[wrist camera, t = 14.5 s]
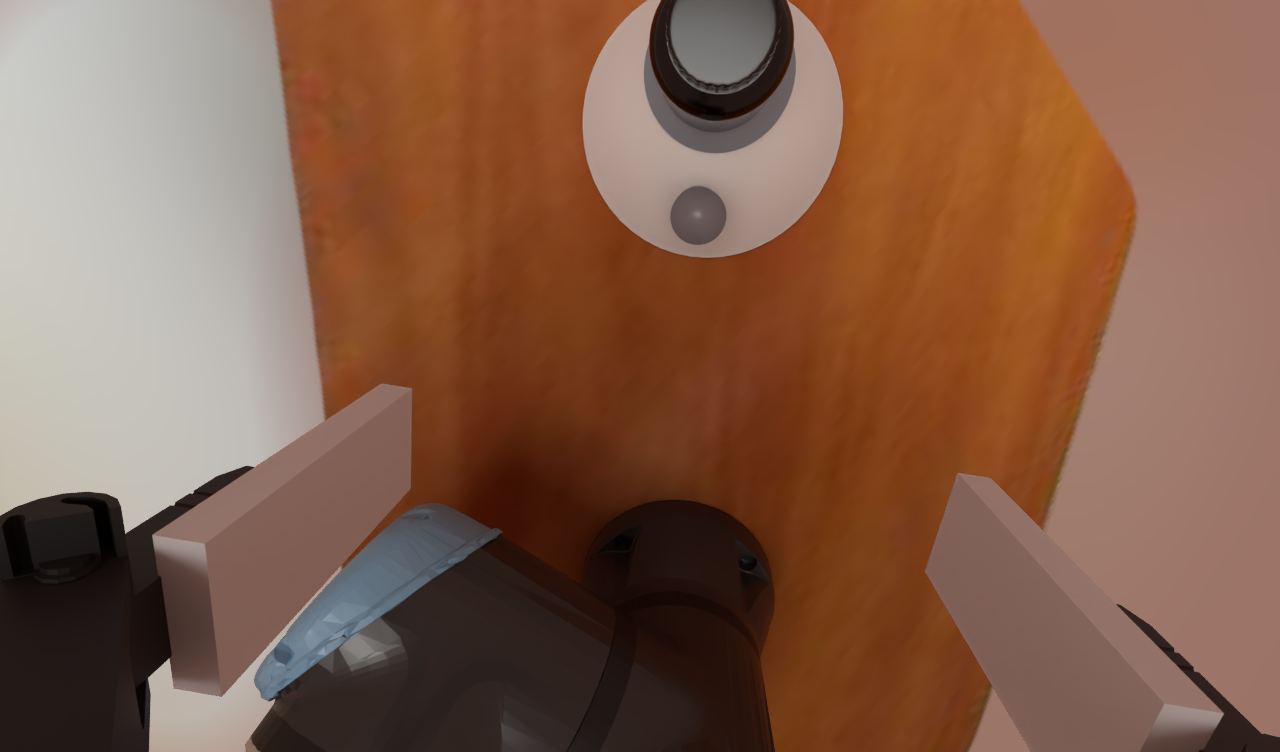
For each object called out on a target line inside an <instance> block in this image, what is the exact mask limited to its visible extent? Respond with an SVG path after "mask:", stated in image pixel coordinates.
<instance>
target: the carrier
mask: <svg viewBox="0 0 1280 752" xmlns="http://www.w3.org/2000/svg"><path fill="white" fill-rule="evenodd" d="M660 1H661V0H647V1H646V2H644V3H643V4H642V5H641V6H639V7H638V8H637V9H635V10H634V11H633V12H632V13H631V14H630V15H629V16H628V17H627V18H626V19H625V20H624V21H623V22H622V23H621V24H620V25H619V26H618V27H617V29H616V30H615V31H614V33H613V34H612V35H611V37H610V38H609V39H608V41H607V42H606V44H605V46H604V47H603V49H602V51H601V53H600V54H599V56H598V58H597V61H596V63H595V66H594V68H593V70H592V73H591V76H590V79H589V83H588V86H587V90H586V94H585V101H584V107H583V140H584V148H585V153H586V157H587V162H588V165H589V168H590V171H591V174H592V177H593V180H594V182H595V184H596V186H597V188H598V190H599V192H600V194H601V196H602V197H603V199H604V200H605V202H606V203H607V205H608V206H609V208H610V209H611V210H612V212H613V213H614V214H615V215H616V216H617V217H618V219H619V220H620V221H621V222H622V223H623V224H625V225H626V226H627V227H628V228H629V229H630V230H631V231H632V232H634V233H635V234H637V235H638V236H639V237H641V238H642V239H644V240H645V241H647V242H649V243H651V244H653V245H655V246H657V247H659V248H661V249H664V250H667V251H669V252H672V253H675V254H680V255H685V256H690V257H701V258H712V257H724V256H730V255H735V254H739V253H742V252H746V251H749V250H752V249H754V248H756V247H759V246H761V245H763V244H765V243H767V242H769V241H771V240H772V239H774V238H775V237H777V236H778V235H780V234H782V233H783V232H784V231H785V230H787V229H788V228H789V227H790V226H792V225H793V224H794V223H795V222H796V221H797V220H798V219H799V218H800V217H801V216H802V215H803V214H804V213H805V212H806V211H807V210H808V209H809V207H810V206H811V204H812V203H813V202H814V200H815V199H816V198H817V196H818V195H819V193H820V192H821V190H822V188H823V186H824V185H825V183H826V181H827V179H828V177H829V175H830V172H831V170H832V167H833V165H834V163H835V159H836V156H837V152H838V149H839V145H840V139H841V133H842V126H843V101H842V90H841V85H840V81H839V76H838V72H837V69H836V66H835V63H834V61H833V58H832V55H831V53H830V51H829V49H828V47H827V45H826V43H825V41H824V40H823V38H822V36H821V35H820V33H819V32H818V31H817V29H816V28H815V26H814V25H813V24H812V22H811V21H810V20H809V19H808V18H807V17H806V16H805V15H804V14H803V13H802V12H801V11H800V10H799V9H798V8H797V7H795V6H794V5H793V4H791V3H790V2H789V1H787V3H788V5H789V8H790V11H791V14H792V19H793V26H794V47H793V53H792V57H791V61H790V64H789V67H788V70H787V72H786V75H785V77H784V79H783V81H782V82H781V84H780V86H779V87H778V89H777V90H776V92H775V93H774V94H773V95H772V97H771V98H770V99H769V100H768V102H767V103H766V104H765V105H764V106H763V108H762V109H761V110H760V111H759V112H758V113H757V114H756V115H755V116H754V117H753V118H752V119H750V120H749V121H748V122H746V123H745V124H743V125H741V126H739V127H737V128H735V129H732V130H729V131H724V132H705V131H701V130H698V129H695V128H693V127H691V126H689V125H687V124H686V123H684V122H683V121H682V120H680V119H679V118H678V117H677V116H676V115H675V113H674V112H673V111H672V110H671V108H670V107H669V105H668V104H667V102H666V100H665V98H664V96H663V94H662V92H661V90H660V88H659V86H658V84H657V82H656V79H655V77H654V74H653V71H652V67H651V62H650V55H649V36H650V29H651V24H652V21H653V17H654V14H655V12H656V9H657V7H658V5H659V3H660Z"/></svg>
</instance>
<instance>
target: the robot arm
mask: <svg viewBox="0 0 1280 752" xmlns="http://www.w3.org/2000/svg"><path fill="white" fill-rule="evenodd" d="M411 431H412V388H407V387H400V386H394V385H387V384H380V385H378V386H377V387H375V388H374V389H372V390H371V391H369V392H368V393H366V394H365V395H363V396H362V397H360V398H359V399H357V400H356V401H354V402H353V403H351V404H350V405H348V406H347V407H345V408H344V409H342V410H341V411H339V412H338V413H336V414H335V415H333V416H332V417H330V418H329V419H327V420H325V421H324V422H322V423H321V424H319V425H318V426H316V427H315V428H314V429H312V430H310V431H309V432H307V433H306V434H304V435H303V436H301V437H300V438H298V439H297V440H296V441H294V442H292V443H291V444H289V445H288V446H286V447H285V448H283V449H282V450H280V451H279V452H277V453H276V454H274V455H273V456H271V457H269V458H268V459H267V460H265V461H263V462H262V463H260V464H259V465H257V466H256V467H250V466H245V467H242V468H239V469H236V470H233V471H231V472H228V473H225V474H222V475H219V476H217V477H215V478H214V479H212V480H210V481H209V482H207V483H206V484H204V485H202V486H201V487H199V488H198V489H196V490H195V491H194V493H193V494H188V495H186V496H185V497H184V498H182V499H180V500H178V501H177V502H176V503H175V505H174V506H169V507H167V508H166V509H164V510H162V511H161V512H159V513H158V514H156V515H155V516H153V517H151V518H150V519H148V520H146V521H145V522H143V523H142V524H140V525H139V526H137V527H135V528H134V529H132V530H131V531H129V532H127V533H126V534H125V530H124V524H123V517H122V511H121V506H120V504H119V501H118V499H116V498H114V497H112V496H110V495H107V494H103V493H93V492H79V493H66V494H60V495H55V496H51V497H46V498H41V499H37V500H35V501H32V502H29V503H26V504H23V505H20V506H18V507H15V508H13V509H12V510H10V511H8V512H6V513H5V514H3V515H1V516H0V752H149V727H150V689H149V683H148V677H149V676H150V675H151V674H152V673H154V672H155V671H156V670H157V669H158V668H159V667H160V666H161V665H162V664H163V663H164V662H166V661H167V660H168V659H169V658H170V664H171V671H172V678H173V686H174V688H175V689H181V690H187V691H192V692H198V693H203V694H209V695H215V696H221V697H222V696H223V695H224V694H225V693H226V691H227V690H228V689H229V688H230V687H231V686H232V685H233V684H234V683H235V682H236V680H237V679H238V678H239V677H240V676H241V675H242V674H243V673H244V672H245V671H246V669H247V668H248V667H249V666H250V665H251V664H252V663H253V662H254V661H255V660H256V658H257V657H258V656H259V655H260V654H261V653H262V652H263V651H264V650H265V649H266V647H267V646H268V645H269V644H270V642H272V641H273V640H274V638H275V637H276V636H277V635H278V634H279V633H280V632H281V631H282V630H283V629H284V628H285V626H286V625H287V624H288V623H289V622H290V621H291V620H292V619H293V618H294V617H295V615H296V614H297V613H298V612H299V611H300V610H301V609H302V608H303V606H305V604H306V603H307V602H308V601H309V600H310V599H311V598H312V597H313V596H314V595H315V593H316V592H317V591H318V590H319V589H320V588H321V587H322V586H323V585H324V584H325V582H326V581H327V580H328V579H329V578H330V577H331V576H332V575H333V574H334V573H335V571H336V570H337V569H338V568H339V567H340V566H341V565H342V564H343V563H344V562H345V560H346V559H347V558H348V557H349V556H350V555H351V554H352V553H353V552H354V550H355V549H356V548H357V547H358V546H359V545H360V544H361V543H362V542H363V541H364V539H365V538H366V537H367V536H368V535H369V534H370V533H371V532H372V531H373V530H374V528H375V527H376V526H377V525H378V524H379V523H380V522H381V521H382V520H383V519H384V517H385V516H386V515H387V514H388V513H389V512H390V511H391V510H392V509H393V508H394V506H395V505H396V504H397V503H398V502H399V501H400V500H401V499H402V498H403V497H404V495H405V494H406V493H407V492H408V491H409V490H410V489H411ZM502 534H503V532H502V531H501V530H500V529H498V528H494V529H490V528H489V527H487V526H485V525H483V524H481V523H479V522H477V521H476V520H474V519H472V518H470V517H468V516H466V515H464V514H463V513H461V512H459V511H457V510H455V509H453V508H452V507H450V506H447V505H445V504H440V503H427V504H422V505H419V506H416V507H414V508H412V509H410V510H408V511H407V512H405V513H404V514H402V515H401V516H399V517H398V518H397V519H396V520H394V521H393V522H392V523H391V524H390V525H388V526H387V527H386V528H385V529H384V530H383V531H382V532H381V533H379V534H378V535H377V536H376V537H375V538H374V539H373V540H372V541H371V542H370V543H369V544H368V545H367V546H366V547H365V548H364V549H363V550H362V551H360V552H359V553H358V554H357V555H356V556H355V557H354V558H353V559H352V560H351V561H350V562H349V563H348V564H347V565H346V566H345V567H344V568H343V569H342V570H341V571H340V573H339V574H338V575H337V576H336V577H335V578H334V579H333V580H332V581H331V582H330V583H329V584H328V585H327V586H326V587H325V589H323V591H322V592H321V593H320V594H319V595H318V596H317V597H316V598H315V599H314V600H313V602H312V603H311V604H310V605H309V606H308V607H307V608H306V609H305V610H304V611H303V613H302V614H301V615H300V616H299V617H298V619H297V620H296V621H295V622H294V623H293V624H292V626H291V627H290V628H289V630H288V631H287V633H286V635H285V636H284V637H283V638H282V639H281V641H280V642H279V643H278V645H277V646H276V647H275V648H274V649H273V650H272V651H271V652H270V653H269V654H268V655H267V657H266V658H265V659H264V661H263V662H262V664H261V665H260V667H259V669H258V671H257V673H256V675H255V679H254V682H255V686H256V687H257V688H258V689H259V691H260V693H261V697H262V698H263V699H265V700H267V701H271V700H273V699H275V703H274V705H273V706H272V708H271V709H270V710H269V712H268V713H267V715H266V716H265V718H264V719H263V721H261V723H260V724H259V726H258V727H257V728H256V730H255V731H254V733H253V734H252V735H251V737H250V738H249V740H248V741H247V743H246V745H245V746H246V752H775V749H774V743H773V737H772V731H771V725H770V718H769V712H768V706H767V700H766V694H765V688H764V682H763V675H762V670H761V662H760V657H761V654H762V650H763V647H764V644H765V641H766V637H767V634H768V631H769V628H770V624H771V621H772V617H773V612H774V587H773V582H772V576H771V571H770V567H769V563H768V560H767V558H766V555H765V553H764V551H763V549H762V547H761V546H760V544H759V543H758V541H757V540H756V539H755V537H754V536H753V535H752V534H751V533H750V532H749V531H748V530H747V529H746V528H745V527H744V526H743V525H742V524H741V523H739V522H738V521H737V520H735V519H734V518H732V517H731V516H729V515H727V514H725V513H723V512H721V511H719V510H717V509H715V508H712V507H709V506H706V505H702V504H699V503H693V502H687V501H661V502H654V503H649V504H645V505H642V506H639V507H636V508H634V509H631V510H629V511H627V512H625V513H623V514H622V515H620V516H618V517H617V518H615V519H614V520H613V521H611V522H610V523H609V524H608V525H607V526H606V527H605V528H604V529H603V530H602V531H601V532H600V533H599V535H598V536H597V537H596V539H595V540H594V542H593V544H592V545H591V547H590V550H589V552H588V555H587V558H586V561H585V565H584V568H583V572H582V576H581V582H580V584H579V583H577V582H576V581H574V580H573V579H571V578H569V577H568V576H566V575H565V574H563V573H561V572H560V571H558V570H557V569H555V568H553V567H552V566H550V565H549V564H547V563H545V562H544V561H542V560H540V559H539V558H537V557H536V556H534V555H532V554H531V553H529V552H528V551H526V550H524V549H523V548H521V547H520V546H518V545H516V544H515V543H513V542H511V541H510V540H508V539H507V538H505V537H503V536H502ZM925 572H926V574H927V576H928V578H929V579H930V581H931V583H932V584H933V586H934V588H935V589H936V591H937V593H938V595H939V596H940V598H941V600H942V601H943V603H944V605H945V606H946V608H947V610H948V612H949V613H950V615H951V617H952V618H953V620H954V622H955V623H956V625H957V627H958V629H959V630H960V632H961V634H962V635H963V637H964V639H965V640H966V642H967V644H968V646H969V647H970V649H971V651H972V652H973V654H974V656H975V657H976V659H977V661H978V662H979V664H980V666H981V668H982V669H983V671H984V673H985V674H986V676H987V678H988V679H989V681H990V683H991V685H992V686H993V688H994V690H995V691H996V693H997V694H998V696H999V698H1000V700H1001V702H1002V703H1003V705H1004V707H1005V708H1006V710H1007V712H1008V713H1009V715H1010V717H1011V718H1012V720H1013V722H1014V724H1015V725H1016V727H1017V729H1018V730H1019V732H1020V734H1021V735H1022V737H1023V739H1024V741H1025V742H1026V744H1027V746H1028V747H1029V749H1030V751H1031V752H1280V737H1275V736H1271V735H1267V734H1261V733H1260V732H1259V731H1258V730H1257V729H1256V728H1255V727H1254V726H1253V725H1252V724H1251V723H1250V722H1249V721H1248V720H1247V719H1246V718H1245V717H1244V716H1243V715H1242V714H1241V713H1240V712H1239V711H1238V710H1237V709H1235V708H1234V706H1232V705H1231V704H1230V703H1229V702H1228V701H1227V700H1226V699H1225V698H1224V697H1223V696H1222V695H1221V694H1220V693H1219V692H1218V691H1217V690H1216V689H1215V688H1214V687H1213V686H1212V685H1211V684H1210V683H1209V682H1208V681H1207V680H1206V679H1205V678H1204V677H1203V676H1202V675H1201V674H1200V673H1198V672H1194V670H1193V668H1194V667H1193V666H1191V665H1190V663H1188V661H1186V660H1185V659H1184V658H1183V657H1182V656H1181V655H1180V654H1179V653H1175V652H1174V648H1173V647H1172V646H1171V645H1170V644H1169V643H1168V642H1167V641H1166V640H1165V639H1164V638H1163V637H1162V636H1161V635H1160V634H1159V633H1158V632H1157V631H1156V630H1155V629H1154V628H1153V627H1152V626H1150V625H1149V624H1148V623H1146V622H1145V621H1143V620H1142V619H1140V618H1139V617H1137V616H1136V615H1134V614H1133V613H1131V612H1130V611H1128V610H1127V609H1125V608H1124V607H1123V606H1121V605H1118V604H1115V603H1114V602H1113V601H1112V600H1111V599H1110V598H1109V597H1108V596H1107V595H1106V594H1105V593H1104V592H1103V591H1102V590H1101V589H1100V588H1099V587H1098V586H1097V585H1096V584H1095V583H1094V582H1093V581H1092V580H1091V579H1090V578H1089V577H1088V576H1087V575H1086V574H1085V573H1084V572H1083V571H1082V570H1081V569H1080V568H1079V567H1078V566H1077V565H1076V564H1075V563H1074V562H1073V561H1072V560H1071V559H1070V558H1069V557H1068V556H1067V555H1066V554H1065V552H1063V550H1061V548H1060V547H1058V545H1057V544H1056V543H1055V542H1054V541H1053V540H1052V539H1051V538H1050V537H1049V536H1048V535H1047V534H1046V533H1045V532H1044V531H1043V530H1042V529H1041V528H1040V527H1039V526H1038V525H1037V524H1036V523H1035V522H1034V521H1033V520H1032V519H1031V518H1030V517H1029V516H1028V515H1027V514H1026V513H1025V512H1024V511H1023V510H1022V509H1021V508H1020V507H1019V506H1018V505H1017V504H1016V503H1015V502H1014V501H1013V500H1012V499H1011V498H1010V497H1009V496H1008V495H1007V494H1006V493H1005V492H1004V491H1003V490H1002V489H1001V488H1000V487H999V486H998V485H997V484H996V483H995V482H994V481H993V480H992V479H991V478H988V477H982V476H975V475H969V474H962V473H957V476H956V479H955V482H954V485H953V488H952V491H951V494H950V497H949V500H948V503H947V506H946V509H945V512H944V515H943V518H942V521H941V524H940V527H939V530H938V533H937V536H936V539H935V542H934V545H933V548H932V551H931V554H930V557H929V560H928V563H927V567H926V570H925Z"/></svg>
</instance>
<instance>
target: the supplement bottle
mask: <svg viewBox="0 0 1280 752" xmlns="http://www.w3.org/2000/svg"><path fill="white" fill-rule="evenodd" d="M793 47H794V26H793V19H792V14H791V11H790V8H789V5H788V3H787V0H661V1H660V3H659V5H658V7H657V9H656V12H655V14H654V17H653V21H652V24H651V29H650V36H649V55H650V62H651V67H652V71H653V74H654V77H655V79H656V82H657V84H658V86H659V88H660V90H661V92H662V94H663V96H664V98H665V100H666V102H667V104H668V105H669V107H670V108H671V110H672V111H673V112H674V113H675V115H676V116H677V117H678V118H679V119H680V120H682V121H683V122H684V123H686V124H687V125H689V126H691V127H693V128H695V129H698V130H701V131H705V132H724V131H729V130H732V129H735V128H737V127H739V126H741V125H743V124H745V123H746V122H748V121H749V120H750V119H752V118H753V117H754V116H755V115H756V114H757V113H758V112H759V111H760V110H761V109H762V108H763V106H764V105H765V104H766V103H767V102H768V100H769V99H770V98H771V97H772V95H773V94H774V93H775V92H776V90H777V89H778V87H779V86H780V84H781V82H782V81H783V79H784V77H785V75H786V72H787V70H788V67H789V64H790V61H791V57H792V53H793Z"/></svg>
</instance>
